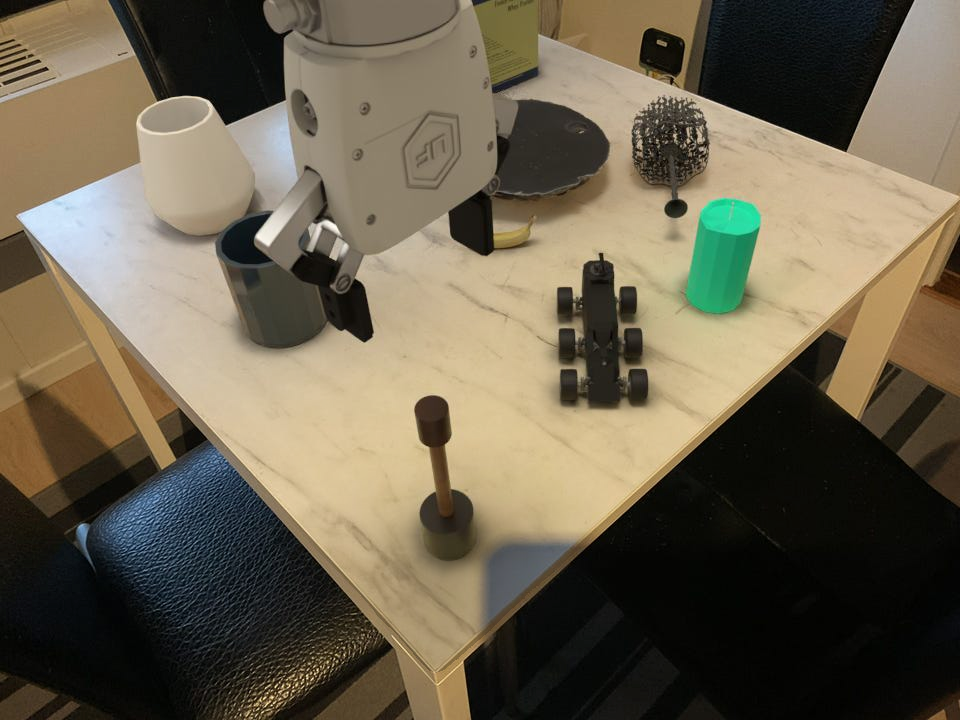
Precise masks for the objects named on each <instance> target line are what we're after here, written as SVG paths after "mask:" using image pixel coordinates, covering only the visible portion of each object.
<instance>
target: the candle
mask: <svg viewBox="0 0 960 720" xmlns="http://www.w3.org/2000/svg"><path fill="white" fill-rule="evenodd" d="M697 223H698V224H697V229H696V235H695V240H694V246H693V251H692V255H691V256H692V257H691V263H690V267H689V273H688V278H687V284H686V291H685V297H686V299H687V300H688V302H689V303H690V305H691V306H693V307H695V308H696V309H698V310H700V311H702V312H704V313H712V314H718V315H720V314H724V313H728V312H729V313H730V312H733V311H734V310H735V309H736V308H737V307H739V305H741V304H742V300H743V296H744V294H745V293H744V292H745V288H746V285H747V280H748V277H749V273H750V269H751V265H752V261H753V258H754V257H753V256H754V253H755V248H756V245H757V241H758V236H759V234H760V230H761V223H762V215H761V213H760V211H759V210H758V208H757V207H756V205H755V204H754V203H751V202H748V201H745V200H741V199H738V198H729V197H722V198H721V197H720V198H716V199H714V200H709V202H708V203H706V205H705V206H704V207H703V208H702V209H700V213H699V218H698V222H697Z"/></svg>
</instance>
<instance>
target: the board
mask: <svg viewBox="0 0 960 720" xmlns="http://www.w3.org/2000/svg"><path fill="white" fill-rule="evenodd" d="M514 100H515V101H517V102H518V111H517V115H516V118H515V121H514V125H513V128H512V132H511V135H508V138H507V139H508V140H509V142H510V149H509V151H508V154H507V156H506V158H505V160H504V162H503V164H502V166H501V168H500V170H499V172H498V174H497V176H498V177H499V178H500V186H499V189H498V191H497V192H496V193H495V194H494V195H492V196H491V197H494V198H497V199H502V200H506V201H511V200H515V201H518V202H523V203H524V202H534V203H536V202H539V201H543V200H545V199H549V198H551V197H560V196H564V195H566V194H567V193H568V191H572V190H576V189H578V188H580V187H582V186H583V185H585V184H586V183H587V182H589V181H590V180H591V179H593V177H595V176H596V175H597V174H599V172H600V170H601V169H602V168H604V166H605V164H606V163H607V161H608V160H609V157H610V152H611V142H610V140H609V139H608V137H607V136H606V134H605V132H604V130H603V129H602V128H601V127H600V125H598V124H597V123H596V122H595V121H593V120H592V119H590V118H589V117H586V116H585V115H584V114H583V113H581V112H579V111H576V110H574V109H572V108H571V107H568V106H566V105H563V104H559V103H554V102H552V101H545V100H540V99H534V98H528V99H527V98H523V99H514Z"/></svg>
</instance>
